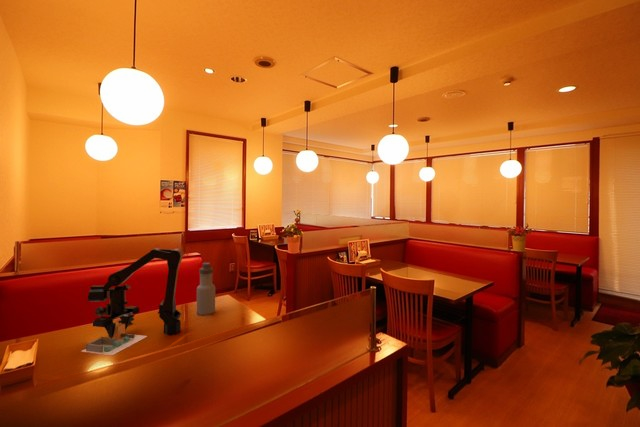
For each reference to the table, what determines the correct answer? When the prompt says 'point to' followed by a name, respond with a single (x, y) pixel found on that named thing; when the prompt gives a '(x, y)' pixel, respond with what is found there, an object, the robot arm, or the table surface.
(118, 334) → the block
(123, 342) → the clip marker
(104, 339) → the end holder
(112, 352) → the board
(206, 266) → the water bottle
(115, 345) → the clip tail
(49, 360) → the table surface
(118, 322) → the valve
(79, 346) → the table surface
